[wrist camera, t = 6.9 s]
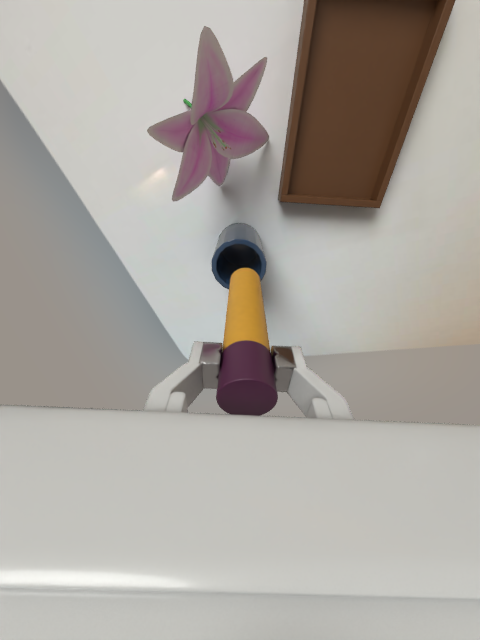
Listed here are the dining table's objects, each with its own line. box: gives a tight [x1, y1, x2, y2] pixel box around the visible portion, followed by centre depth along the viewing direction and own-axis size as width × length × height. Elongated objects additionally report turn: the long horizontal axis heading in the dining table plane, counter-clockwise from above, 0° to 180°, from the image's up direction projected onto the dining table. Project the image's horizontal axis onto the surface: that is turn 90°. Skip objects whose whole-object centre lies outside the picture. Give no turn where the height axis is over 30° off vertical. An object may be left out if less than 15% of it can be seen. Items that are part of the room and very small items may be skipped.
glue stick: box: [216, 268, 278, 416], centre depth 15 cm, size 3×3×12 cm
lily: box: [147, 26, 269, 201], centre depth 21 cm, size 12×12×10 cm
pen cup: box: [212, 223, 266, 289], centre depth 28 cm, size 6×6×8 cm
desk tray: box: [278, 0, 455, 208], centre depth 22 cm, size 16×11×2 cm
